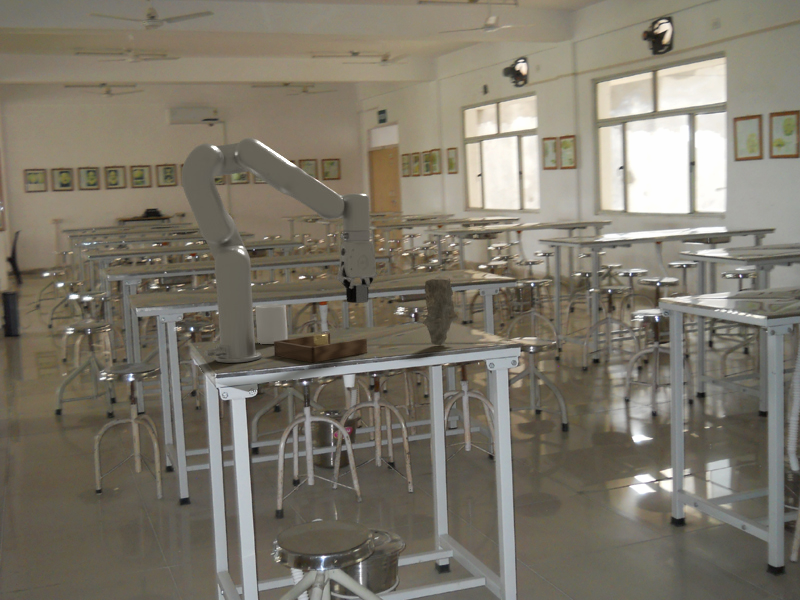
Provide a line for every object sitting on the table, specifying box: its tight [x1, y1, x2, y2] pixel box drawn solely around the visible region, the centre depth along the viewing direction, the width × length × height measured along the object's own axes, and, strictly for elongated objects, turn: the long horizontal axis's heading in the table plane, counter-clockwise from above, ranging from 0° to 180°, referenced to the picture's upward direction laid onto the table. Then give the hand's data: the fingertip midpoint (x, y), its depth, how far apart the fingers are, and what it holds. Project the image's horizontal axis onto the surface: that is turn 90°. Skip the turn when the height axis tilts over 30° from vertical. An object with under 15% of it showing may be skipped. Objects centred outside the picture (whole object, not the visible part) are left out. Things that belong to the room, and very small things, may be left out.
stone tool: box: [422, 276, 459, 346], centre depth 238 cm, size 12×6×20 cm, turn 118°
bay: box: [273, 332, 368, 363], centre depth 232 cm, size 19×18×4 cm
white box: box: [254, 303, 288, 345], centre depth 257 cm, size 10×12×12 cm
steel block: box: [349, 283, 369, 304], centre depth 232 cm, size 4×4×5 cm
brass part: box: [313, 333, 328, 347], centre depth 229 cm, size 4×4×6 cm
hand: (357, 300), depth 233 cm, fingers closed on steel block, 4 cm apart
